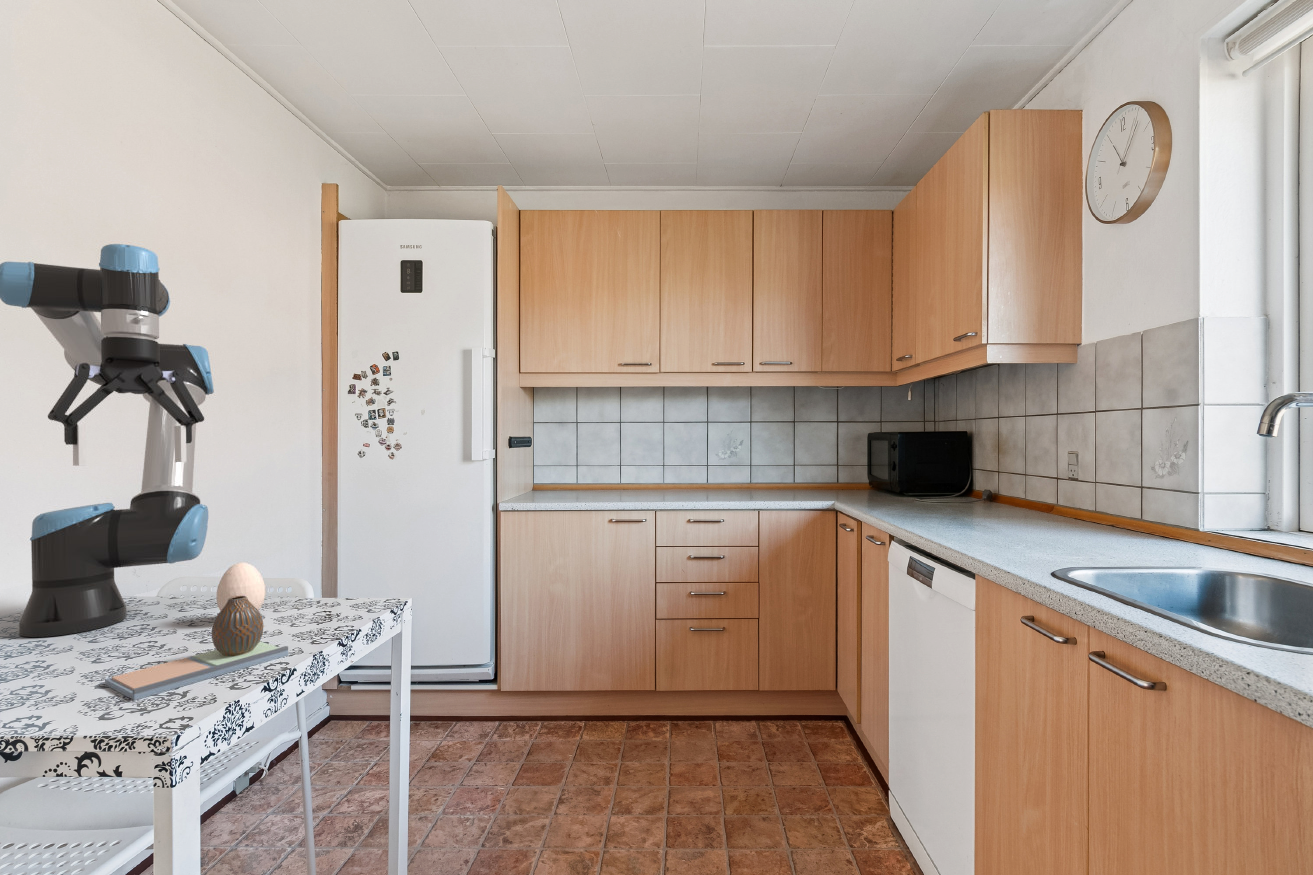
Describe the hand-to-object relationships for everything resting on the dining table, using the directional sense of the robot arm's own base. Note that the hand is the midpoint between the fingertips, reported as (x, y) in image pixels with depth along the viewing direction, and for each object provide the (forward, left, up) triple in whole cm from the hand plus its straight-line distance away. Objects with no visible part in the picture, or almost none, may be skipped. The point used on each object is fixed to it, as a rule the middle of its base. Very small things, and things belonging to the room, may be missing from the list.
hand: (132, 464), depth 103 cm
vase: (+20, +7, -31) cm, 37 cm away
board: (+20, +2, -32) cm, 38 cm away
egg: (-4, +18, -32) cm, 37 cm away
